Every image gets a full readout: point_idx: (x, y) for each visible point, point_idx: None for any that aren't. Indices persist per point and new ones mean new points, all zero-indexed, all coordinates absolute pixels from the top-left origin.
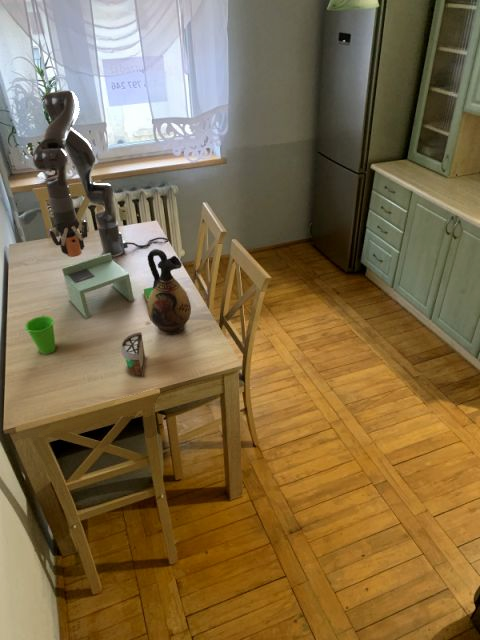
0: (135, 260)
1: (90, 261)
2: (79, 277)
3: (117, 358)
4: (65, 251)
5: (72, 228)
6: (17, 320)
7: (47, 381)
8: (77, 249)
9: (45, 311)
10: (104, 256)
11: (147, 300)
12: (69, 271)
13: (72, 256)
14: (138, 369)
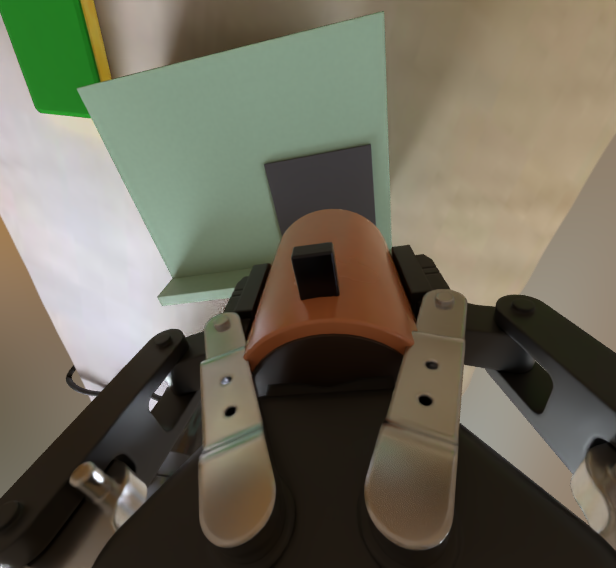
0: (154, 333)
1: None
2: (336, 188)
3: None
4: (411, 257)
5: (258, 480)
6: (570, 177)
7: None
8: (303, 237)
9: (468, 187)
10: (189, 290)
11: (99, 38)
12: None
13: (360, 216)
14: None
